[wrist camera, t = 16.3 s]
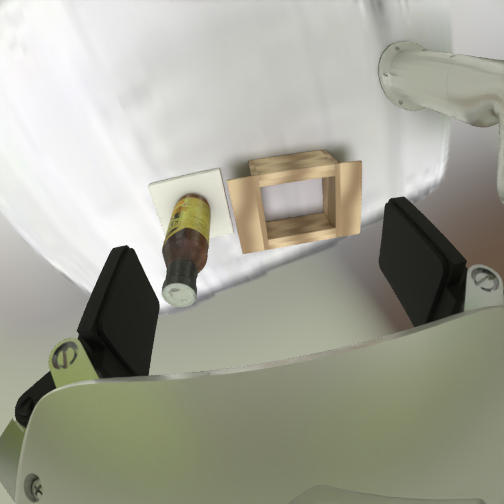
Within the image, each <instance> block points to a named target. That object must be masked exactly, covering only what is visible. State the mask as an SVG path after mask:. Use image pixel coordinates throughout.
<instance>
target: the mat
mask: <svg viewBox="0 0 504 504" xmlns="http://www.w3.org/2000/svg"><path fill="white" fill-rule="evenodd" d="M148 189H149V192H150V195H151V197H152V200H153V203H154V206H155V209H156V212H157V215H158V218H159V220H160V223H161V226H162V229H163V231H164V234H165V237H166V233H167V230H168V226H169V222H170V219H171V216H172V212H173V209H174V206H175V205H176V203H177V202H178V201H179V199H180V198H181V197H183V196H185V195H188V194H196V195H200V196H202V197H203V198H204V199H206V200H207V202H208V204H209V206H210V212H211V221H210V234H209V238H213V237H218V236H224V235H229V234H234V231H233V226H232V222H231V217H230V213H229V208H228V204H227V200H226V195H225V191H224V186H223V182H222V177H221V172H220V168H217V169H212V170H208V171H203V172H198V173H194V174H189V175H185V176H180V177H176V178H172V179H167V180H163V181H159V182H155V183H151V184H149V185H148Z"/></svg>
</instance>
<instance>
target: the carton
mask: <svg viewBox="0 0 504 504" xmlns="http://www.w3.org/2000/svg"><path fill="white" fill-rule="evenodd" d="M249 167H250V173H251V176H246V177H241V178H235V179H230V180H227V184H228V188H229V193H230V198H231V202H232V207H233V212H234V216H235V221H236V225H237V230H238V235H239V239H240V244H241V248H242V253H243V254H246V253H252V252H257V251H263V250H268V249H274V248H280V247H285V246H291V245H297V244H302V243H308V242H313V241H319V240H325V239H330V238H336V237H341V236H347V235H353V234H358V233H360V221H361V196H362V161H351V162H342V163H339V162H338V161H336V160H335V159H334V158H333V157H332V156H331V155H330V154H329V153H328V152H327V151H326V150H319V151H311V152H303V153H296V154H289V155H282V156H275V157H269V158H262V159H256V160H251V161H249ZM316 178H322V185H323V209H324V213H318V214H312V215H306V216H300V217H294V218H288V219H282V220H277V221H271V222H265V217H264V210H263V204H262V197H261V191H260V187H264V186H270V185H276V184H283V183H289V182H295V181H302V180H309V179H316Z"/></svg>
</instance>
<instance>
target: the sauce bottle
mask: <svg viewBox="0 0 504 504" xmlns="http://www.w3.org/2000/svg"><path fill="white" fill-rule="evenodd" d="M210 221H211V212H210V206H209V204H208V202H207V200H206V199H204V198H203V197H202V196H200V195H196V194H188V195H185V196H183V197H181V198H180V199H179V201H178V202H177V203H176V205H175V206H174V209H173V212H172V216H171V219H170V222H169V226H168V230H167V233H166V237H165V240H164V244H163V248H162V253H163V257H164V261H165V264H166V267H167V271H166V272H167V275H166V280H165V281H164V283H163V287H162V296H163V298H164V300H165V301H166V302H168V303H169V304H171V305H172V306H176V307H186V306H189V305H191V304H192V303H194V301H195V300H196V295H197V287H196V278H197V276H198V275H197V274H198V273H199V272H200V271H201V270H202V269H203V268H204V266H205V264H206V262H207V257H208V256H207V253H208V249H209V234H210Z"/></svg>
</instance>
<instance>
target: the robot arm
mask: <svg viewBox="0 0 504 504" xmlns="http://www.w3.org/2000/svg"><path fill="white" fill-rule="evenodd" d="M395 48H396V49H395ZM383 73H384V75H383ZM379 78H380V83H381V85H382V88H383V90H384V92H385V93H386V95H387V96H388V98H389V99H390V100H391V101H392V102H393V103H394V104H396V105H397V106H399V107H401V108H404V109H406V110H410V111H418V110H422V109H424V108H426V107H427V108H429V109H432V110H435V111H438V112H440V113H443V114H446V115H448V116H451V117H453V118H456V119H458V120H460V121H463V122H465V123H468V124H470V125H472V126H476V127H490V126H493V125H496V124H498V123H499V135H500V137H499V157H498V171H497V191H498V195H499V197H500V199H501V201H502V203H503V204H504V60H495V59H488V58H481V57H474V56H468V55H467V56H466V55H459V54H453V53H444V52H433V51H427V50H426V49H424V48H423V47H422V46H420V45H418V44H416V43H413V42H405V41H404V42H397V43H394V44H392V45H391V46H389V47H388V48H387V49H386V50H385V51H384V53H383V55H382V57H381V60H380V63H379ZM466 262H467V261H466V259H465V258H464V257H463V256H462V255H461V254H460V253H459V252H458V250H457V249H456V248H455V247H454V246H453V245H452V244H451V243H450V242H449V241H448V239H447V238H446V237H445V236H444V235H443V234H442V233H441V232H440V231H439V230H438V229H437V228H436V227H435V226H434V225H433V224H432V223H431V222H430V221H429V220H428V219H427V218H426V217H425V216H424V215H423V214H422V213H421V212H420V211H419V210H418V209H417V208H416V207H415V206H414V205H413V204H412V203H411V202H410V201H409V200H407V199H406V198H405V197H398V198H391V199H389V201H388V203H386V204H385V210H384V221H383V230H382V240H381V247H380V256H379V266H380V269H381V271H382V272H383V274H384V275H385V277H386V279H387V280H388V282H389V283H390V285H391V287H392V289H393V290H394V292H395V294H396V295H397V297H398V299H399V301H400V302H401V304H402V306H403V307H404V309H405V311H406V313H407V315H408V317H409V318H410V320H411V322H412V324H413V325H414V328H411V329H408V330H404V331H401V332H398V333H394V334H391V335H387V336H384V337H380V338H377V339H373V340H369V341H365V342H362V343H358V344H354V345H350V346H345V347H341V348H337V349H333V350H328V351H324V352H320V353H315V354H310V355H305V356H300V357H295V358H290V359H284V360H279V361H273V362H267V363H261V364H254V365H247V366H240V367H233V368H226V369H218V370H210V371H200V372H190V373H179V374H166V375H152V376H149V368H150V362H151V354H152V349H153V342H154V337H155V331H156V325H157V319H158V314H159V308H160V306H159V301H158V298H157V296H156V294H155V292H154V290H153V288H152V286H151V284H150V282H149V280H148V278H147V276H146V274H145V272H144V270H143V268H142V265H141V263H140V261H139V259H138V257H137V255H136V252H135V250H134V249H133V248H129V247H128V246H127V245H125V246H120V247H116V248H113V249H112V250H111V252H110V254H109V256H108V258H107V261H106V263H105V265H104V267H103V269H102V271H101V273H100V276H99V278H98V280H97V282H96V285H95V287H94V289H93V292H92V294H91V296H90V299H89V301H88V303H87V306H86V308H85V311H84V313H83V316H82V318H81V321H80V324H79V327H78V329H77V332H78V333H79V336H78V339H76V338H68V339H64V340H63V341H61V342H59V343H58V344H57V345H56V346H55V347H54V349H53V350H52V351H51V354H50V356H49V368H50V371H49V372H48V373H47V374H46V375H44V376H43V377H42V378H41V379H40V380H39V381H37V382H36V383H35V384H34V385H33V386H32V387H31V388H30V389H28V390H27V391H26V392H25V393H24V394H23V395H22V396H21V397H20V398H19V399H18V401H17V404H16V407H15V417H16V421H15V420H14V419H12V420H11V421H10V423H9V424H8V426H7V427H6V429H5V430H4V432H3V433H2V435H1V437H0V482H1V483H2V485H3V486H4V488H5V489H6V490H7V492H8V493H9V495H10V496H11V498H12V499H13V500H14V502H15V504H504V289H503V283H502V279H501V278H500V276H499V275H498V274H497V273H496V272H495V271H494V270H493V269H491V268H490V267H487V266H484V265H474V266H471V267H470V268H469V269H467V268H466V266H465V265H466Z"/></svg>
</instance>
